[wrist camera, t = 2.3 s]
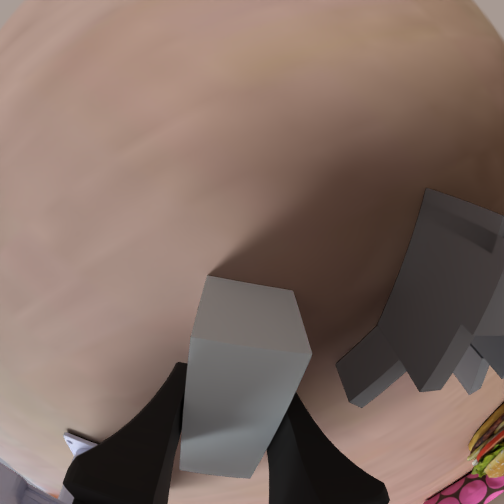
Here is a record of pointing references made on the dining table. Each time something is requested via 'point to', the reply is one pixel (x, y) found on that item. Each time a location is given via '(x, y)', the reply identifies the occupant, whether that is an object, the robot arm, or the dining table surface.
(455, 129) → the dining table surface
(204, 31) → the dining table surface
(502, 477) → the pencil case
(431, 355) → the endcap
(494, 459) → the food
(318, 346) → the dining table surface
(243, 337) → the white rectangular block
